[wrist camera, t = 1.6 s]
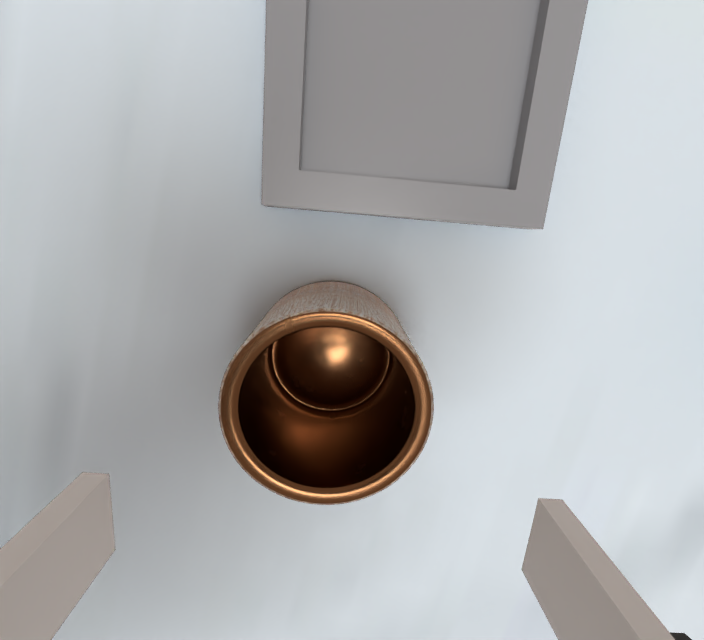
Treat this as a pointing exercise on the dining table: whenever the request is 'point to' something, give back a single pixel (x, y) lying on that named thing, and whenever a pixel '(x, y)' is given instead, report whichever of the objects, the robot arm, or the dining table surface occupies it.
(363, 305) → the planter
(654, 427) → the dining table surface
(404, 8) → the grey tray
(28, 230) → the dining table surface
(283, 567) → the dining table surface
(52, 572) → the robot arm
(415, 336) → the dining table surface
